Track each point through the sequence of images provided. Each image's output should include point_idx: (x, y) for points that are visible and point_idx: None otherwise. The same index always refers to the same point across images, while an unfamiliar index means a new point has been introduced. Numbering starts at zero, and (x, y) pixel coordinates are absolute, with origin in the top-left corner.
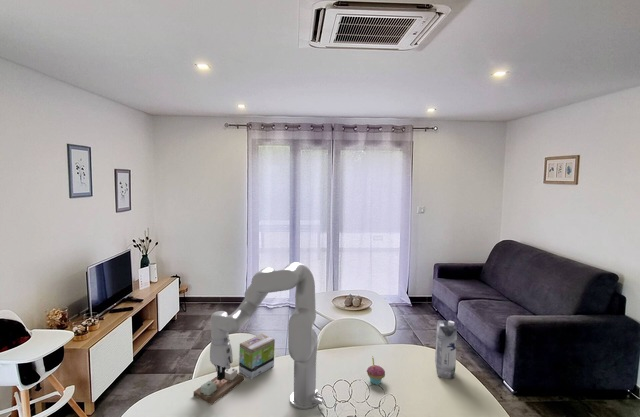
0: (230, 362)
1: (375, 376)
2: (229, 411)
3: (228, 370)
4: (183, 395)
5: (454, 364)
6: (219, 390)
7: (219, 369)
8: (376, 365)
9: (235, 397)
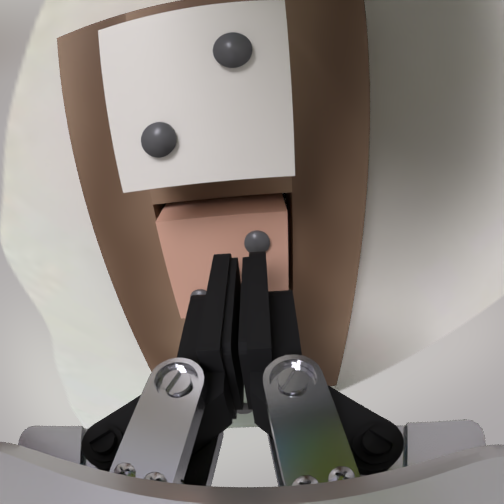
0: (485, 482)
1: None
2: (450, 332)
3: (170, 116)
4: (125, 383)
5: None
6: (313, 318)
7: (228, 422)
8: None
9: (433, 244)
